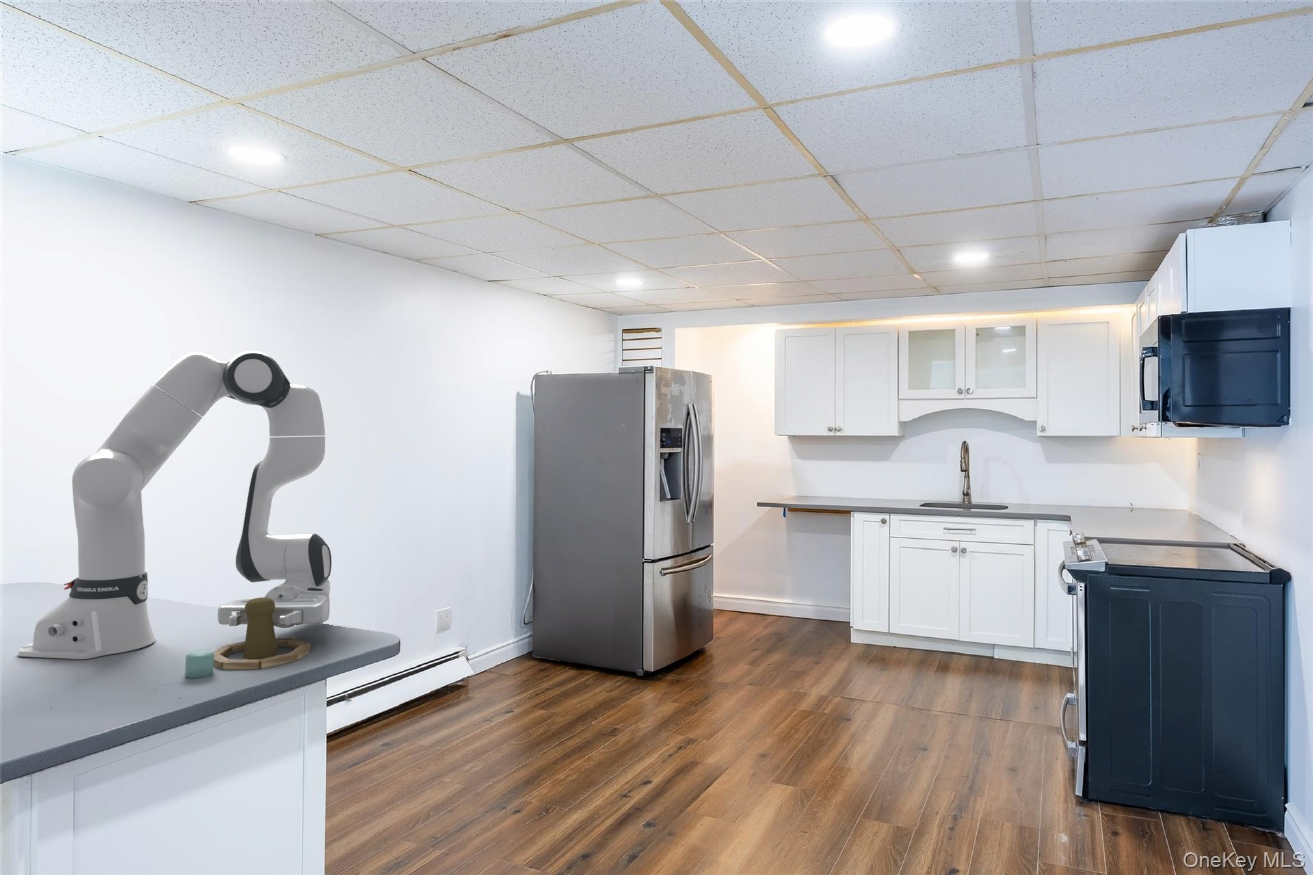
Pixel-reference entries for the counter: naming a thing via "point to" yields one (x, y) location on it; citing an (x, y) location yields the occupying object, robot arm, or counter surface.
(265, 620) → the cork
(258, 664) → the wooden segmented ring
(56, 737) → the counter surface
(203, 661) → the loose bead
